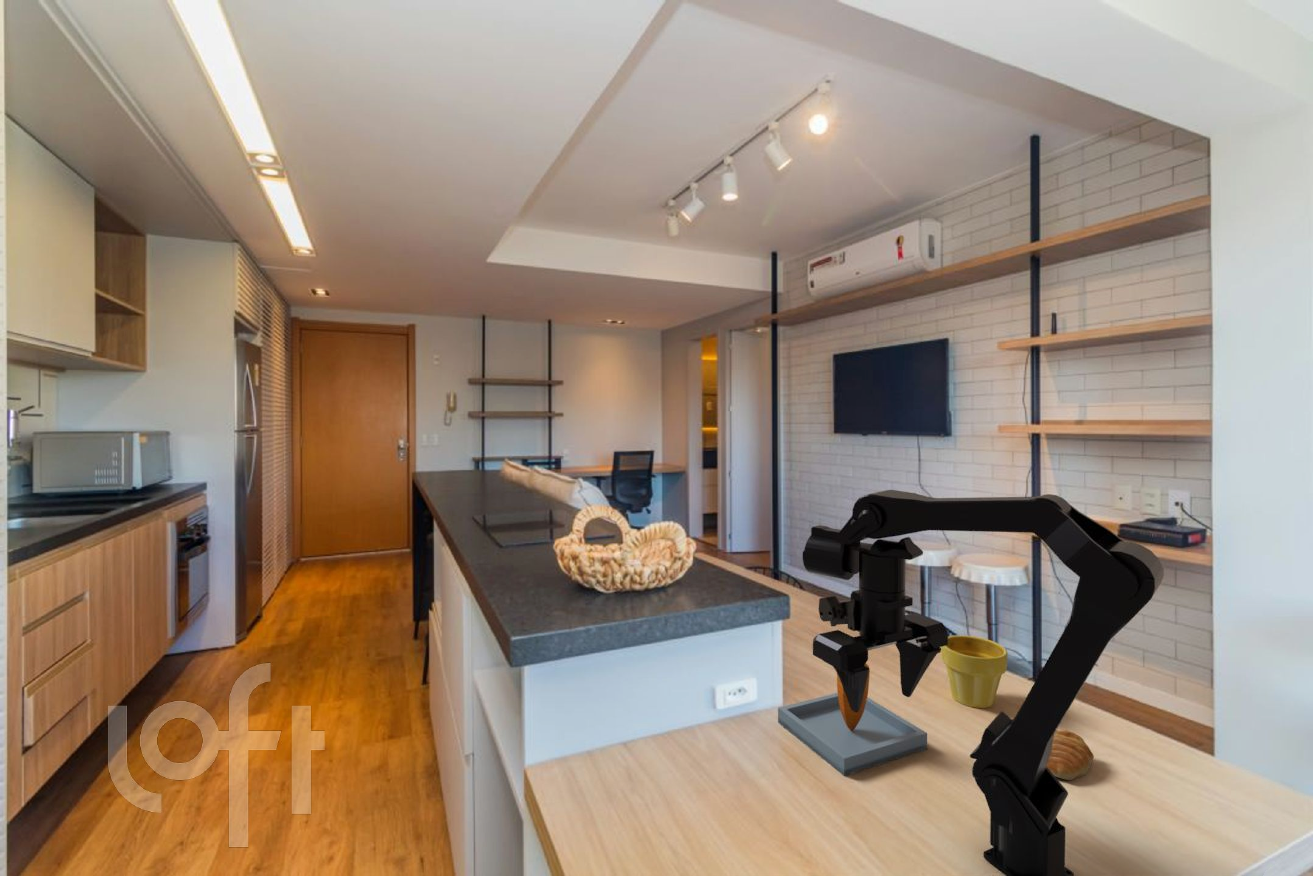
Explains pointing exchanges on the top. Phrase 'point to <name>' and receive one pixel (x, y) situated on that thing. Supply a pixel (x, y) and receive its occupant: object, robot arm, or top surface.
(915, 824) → the top surface
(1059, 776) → the pastry
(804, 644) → the top surface
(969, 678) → the plant pot
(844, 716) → the carrot
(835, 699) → the tray
